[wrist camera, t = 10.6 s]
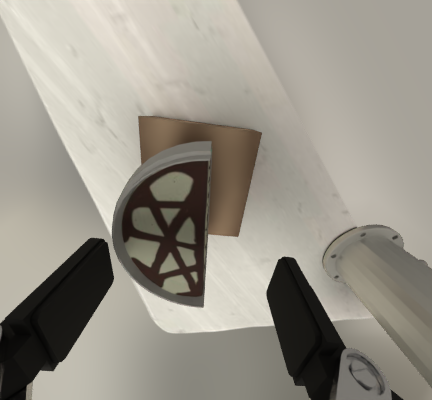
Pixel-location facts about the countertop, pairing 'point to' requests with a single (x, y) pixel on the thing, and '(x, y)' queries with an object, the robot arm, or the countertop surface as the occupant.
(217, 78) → the countertop surface
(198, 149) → the food container
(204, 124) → the walnut stand
